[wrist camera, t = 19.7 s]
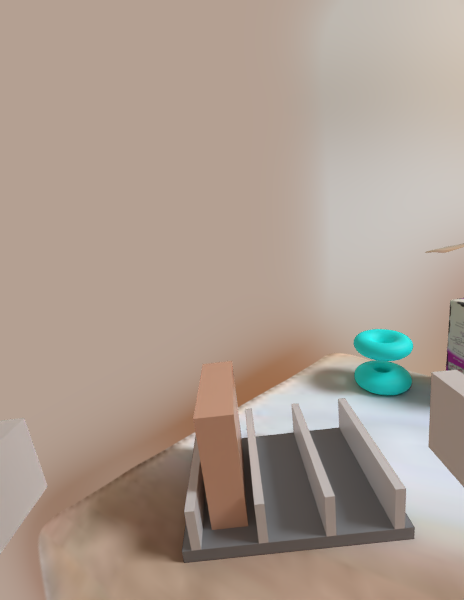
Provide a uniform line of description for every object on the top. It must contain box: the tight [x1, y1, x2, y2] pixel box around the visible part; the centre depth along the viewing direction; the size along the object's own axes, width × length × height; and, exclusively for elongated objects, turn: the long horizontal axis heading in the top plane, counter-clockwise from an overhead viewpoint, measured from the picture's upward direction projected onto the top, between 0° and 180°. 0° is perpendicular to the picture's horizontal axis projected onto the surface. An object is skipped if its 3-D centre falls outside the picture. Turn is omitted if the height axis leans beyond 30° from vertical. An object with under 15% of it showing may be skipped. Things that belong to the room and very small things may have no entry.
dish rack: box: [182, 398, 415, 563], centre depth 39 cm, size 24×16×6 cm, turn 91°
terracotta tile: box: [193, 361, 248, 530], centre depth 37 cm, size 4×12×14 cm, turn 1°
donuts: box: [354, 329, 413, 395], centre depth 58 cm, size 10×10×10 cm
